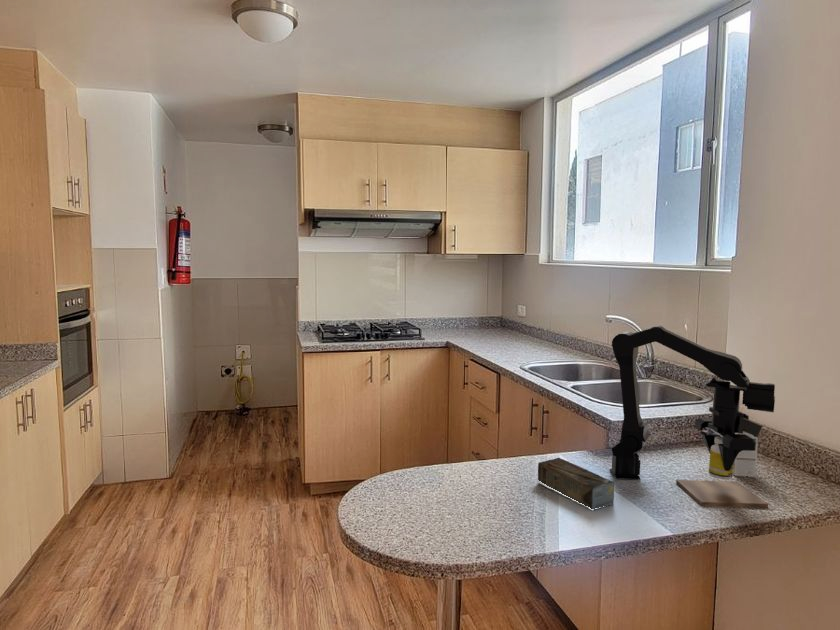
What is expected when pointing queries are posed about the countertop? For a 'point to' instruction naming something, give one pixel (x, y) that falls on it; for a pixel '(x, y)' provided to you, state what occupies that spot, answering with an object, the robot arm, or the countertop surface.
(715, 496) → the walnut board
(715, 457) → the supplement bottle
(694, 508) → the countertop surface
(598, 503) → the beverage carton
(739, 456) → the syrup box
